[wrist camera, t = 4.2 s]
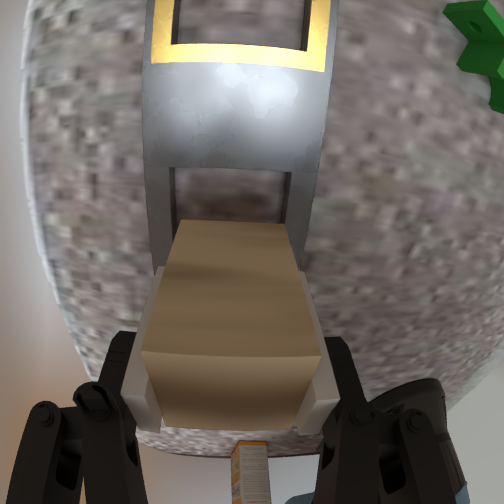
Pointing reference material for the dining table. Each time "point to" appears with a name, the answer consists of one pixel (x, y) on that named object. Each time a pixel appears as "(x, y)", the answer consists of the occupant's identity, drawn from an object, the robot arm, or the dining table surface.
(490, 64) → the pipe clamp
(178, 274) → the oak peg
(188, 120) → the rail plate
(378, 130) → the dining table surface
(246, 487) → the supplement box
